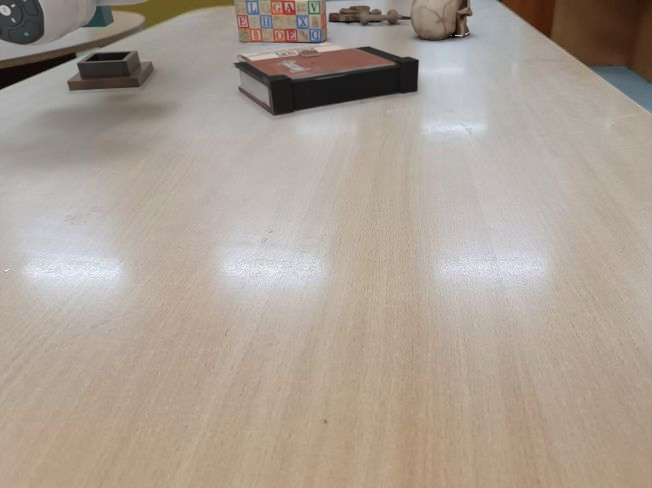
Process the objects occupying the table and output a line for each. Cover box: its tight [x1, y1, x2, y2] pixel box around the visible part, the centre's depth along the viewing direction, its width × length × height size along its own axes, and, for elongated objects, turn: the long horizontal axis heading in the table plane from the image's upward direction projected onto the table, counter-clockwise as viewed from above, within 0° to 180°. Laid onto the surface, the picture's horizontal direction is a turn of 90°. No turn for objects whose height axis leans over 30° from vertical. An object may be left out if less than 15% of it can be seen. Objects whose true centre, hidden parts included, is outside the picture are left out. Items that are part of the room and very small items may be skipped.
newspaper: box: [232, 41, 345, 65], centre depth 108 cm, size 23×12×2 cm, turn 126°
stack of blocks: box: [233, 0, 328, 43], centre depth 125 cm, size 21×6×12 cm, turn 80°
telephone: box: [328, 5, 411, 25], centre depth 149 cm, size 15×33×4 cm, turn 87°
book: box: [234, 45, 420, 116], centre depth 87 cm, size 26×18×5 cm
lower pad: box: [66, 50, 154, 91], centre depth 96 cm, size 12×14×4 cm
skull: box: [409, 0, 474, 41], centre depth 127 cm, size 16×17×13 cm
